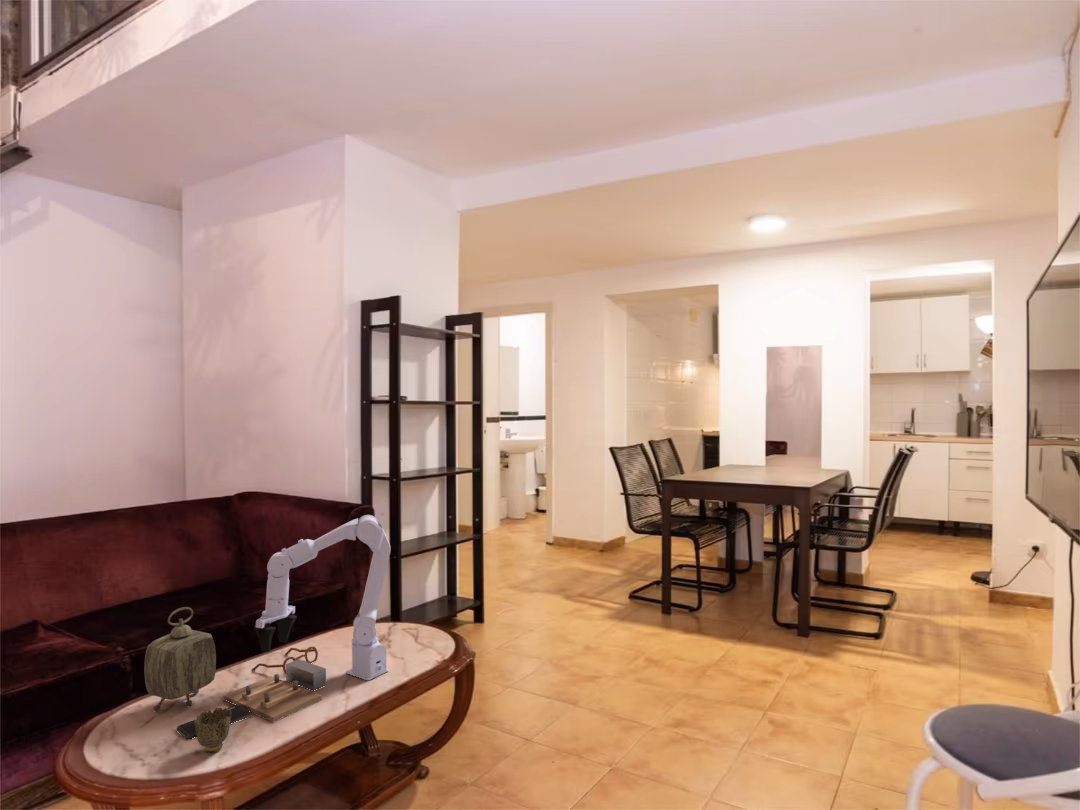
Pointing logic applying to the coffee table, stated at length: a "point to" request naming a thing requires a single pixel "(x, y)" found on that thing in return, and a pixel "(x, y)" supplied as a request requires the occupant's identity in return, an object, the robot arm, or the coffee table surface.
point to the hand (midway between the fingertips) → (274, 646)
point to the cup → (212, 728)
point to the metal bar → (306, 674)
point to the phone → (236, 711)
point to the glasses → (292, 658)
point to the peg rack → (272, 698)
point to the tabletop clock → (179, 662)
